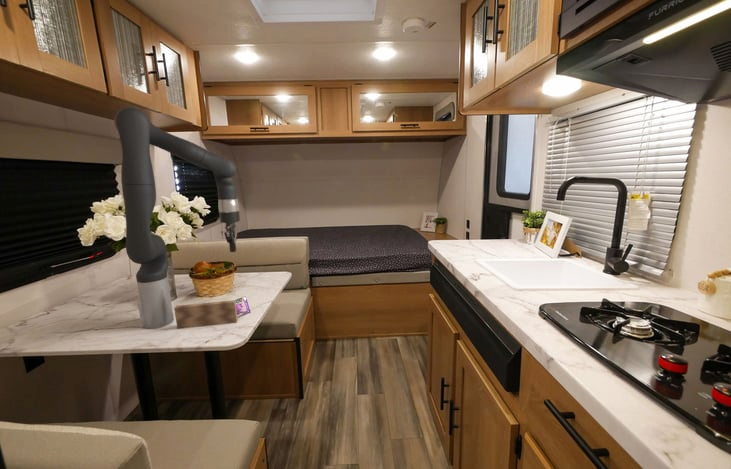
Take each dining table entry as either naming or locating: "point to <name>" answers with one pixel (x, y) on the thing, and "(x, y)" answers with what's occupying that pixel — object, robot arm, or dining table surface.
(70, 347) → the dining table surface
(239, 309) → the purple crystal
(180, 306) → the walnut board
